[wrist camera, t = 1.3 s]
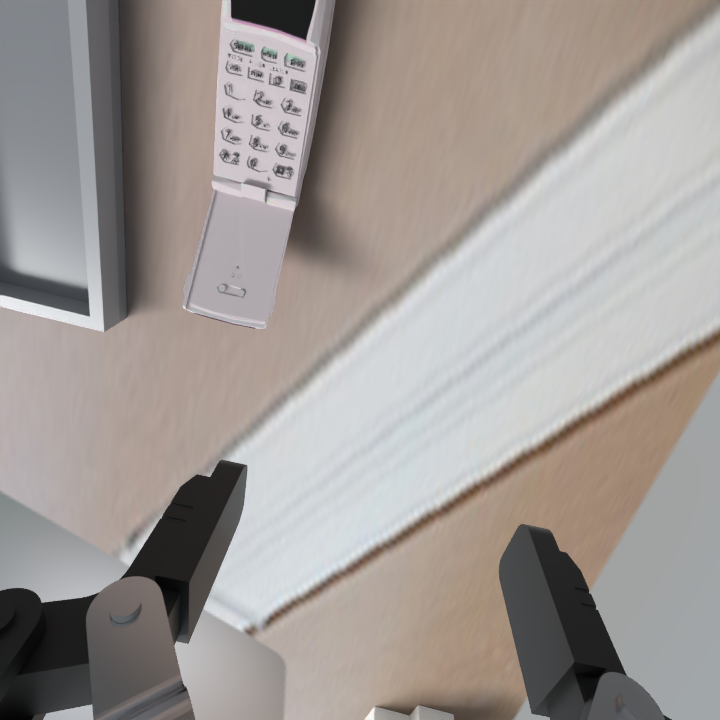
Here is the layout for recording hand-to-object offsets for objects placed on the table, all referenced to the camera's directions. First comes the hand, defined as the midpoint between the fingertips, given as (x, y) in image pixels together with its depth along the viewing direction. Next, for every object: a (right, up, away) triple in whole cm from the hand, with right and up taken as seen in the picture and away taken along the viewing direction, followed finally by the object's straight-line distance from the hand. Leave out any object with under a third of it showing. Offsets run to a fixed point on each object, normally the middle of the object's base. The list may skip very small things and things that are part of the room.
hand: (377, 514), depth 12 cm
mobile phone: (-6, +20, +15) cm, 26 cm away
